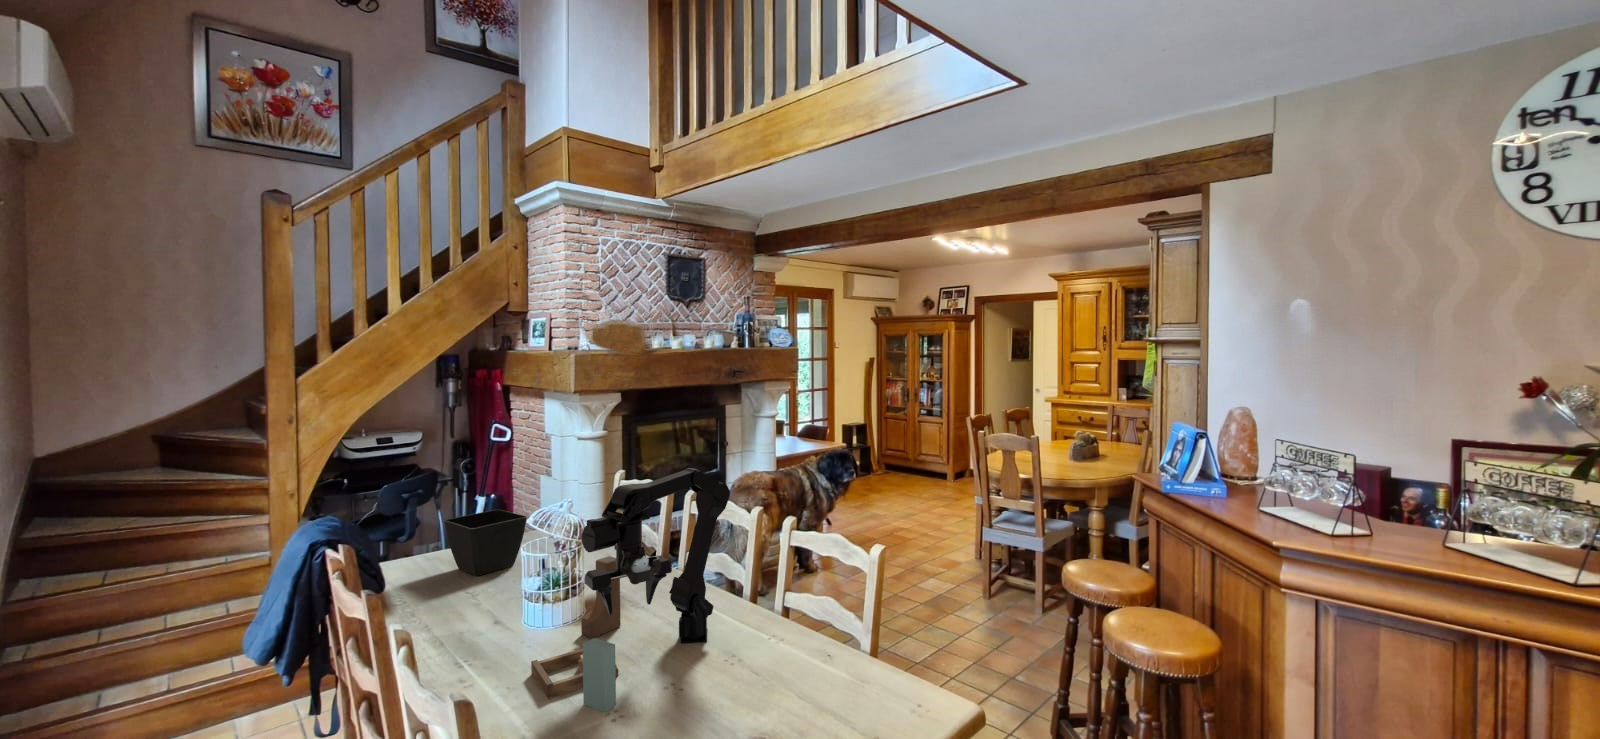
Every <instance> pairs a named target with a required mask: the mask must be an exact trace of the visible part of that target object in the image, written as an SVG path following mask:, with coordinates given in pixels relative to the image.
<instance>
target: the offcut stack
mask: <svg viewBox="0 0 1600 739" xmlns="http://www.w3.org/2000/svg"><path fill="white" fill-rule="evenodd" d="M577 669H578V670H579V671H580V673H583V655H580V660H578V663H577Z"/></svg>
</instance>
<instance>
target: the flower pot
mask: <svg viewBox="0 0 1600 739" xmlns="http://www.w3.org/2000/svg"><path fill="white" fill-rule="evenodd" d="M527 518H528V517H527V516H526V515H522V514H519V513H515V512H513V511H512V512H511V511H508V510H507V511H506V510H502V509H493V510H492V509H491V510H487V511H482V512H477V513H471V514H468V515H467V514H466V515H462V516H457V517H452V518H451V517H450V518H447V519H444V520H443V523H444V527H445V528H444V529H445V533H446V538H447V541H448V545H449V548H450V550H451V554H452V557H453V559H454V561H455V564H456V566H457V568H458V570H461V571H463V572H465V573H468V574H471V575H473V576H476V577H477V576H482V575H485V574H490V573H493V572H496V571H499V570H500V571H501V570H503V569H506V568H511V567H513V566H514V565H515V563H516V560H517V558H518V555H519V552H520V549H521V545H522V542H523V538H524V535H525V531H526V523H527Z"/></svg>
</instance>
